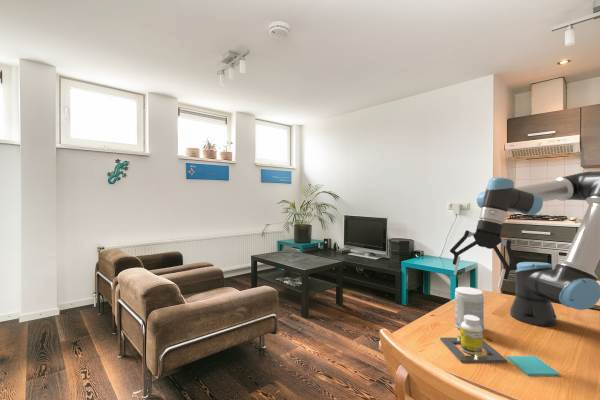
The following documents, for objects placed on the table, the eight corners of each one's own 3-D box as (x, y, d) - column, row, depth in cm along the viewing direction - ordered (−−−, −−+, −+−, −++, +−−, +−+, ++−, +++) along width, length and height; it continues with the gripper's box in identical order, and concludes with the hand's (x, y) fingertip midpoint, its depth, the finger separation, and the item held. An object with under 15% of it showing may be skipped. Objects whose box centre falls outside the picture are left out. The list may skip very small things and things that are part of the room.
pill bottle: (462, 343, 104) (463, 312, 103) (483, 349, 100) (484, 316, 99) (458, 351, 99) (459, 318, 98) (480, 357, 95) (481, 323, 94)
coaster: (535, 357, 94) (535, 356, 94) (559, 375, 85) (559, 373, 85) (506, 357, 95) (506, 356, 95) (527, 375, 86) (527, 373, 86)
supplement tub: (488, 330, 114) (488, 291, 113) (475, 336, 108) (476, 296, 108) (462, 320, 122) (463, 284, 121) (449, 326, 116) (450, 289, 116)
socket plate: (480, 339, 106) (480, 334, 106) (507, 362, 92) (507, 356, 92) (440, 339, 106) (440, 334, 106) (461, 362, 92) (461, 356, 92)
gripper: (451, 212, 108) (436, 269, 108) (537, 230, 95) (521, 295, 95) (452, 214, 114) (439, 268, 114) (533, 231, 101) (518, 292, 101)
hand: (476, 281), depth 104 cm, fingers open, 13 cm apart
